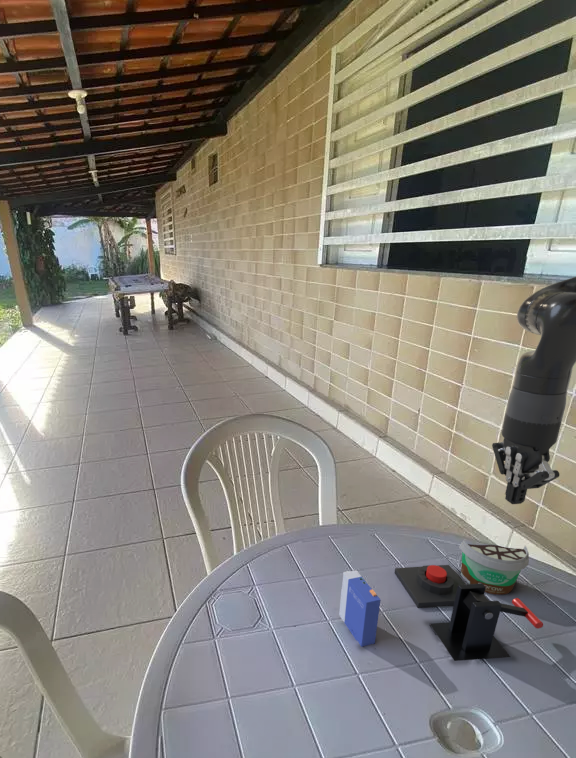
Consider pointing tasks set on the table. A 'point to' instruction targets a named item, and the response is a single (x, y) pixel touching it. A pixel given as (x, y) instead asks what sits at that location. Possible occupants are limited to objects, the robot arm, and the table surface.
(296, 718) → the table surface
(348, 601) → the walkman
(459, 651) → the switch bracket
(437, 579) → the stop button
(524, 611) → the lever
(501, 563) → the food container
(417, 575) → the stop block
